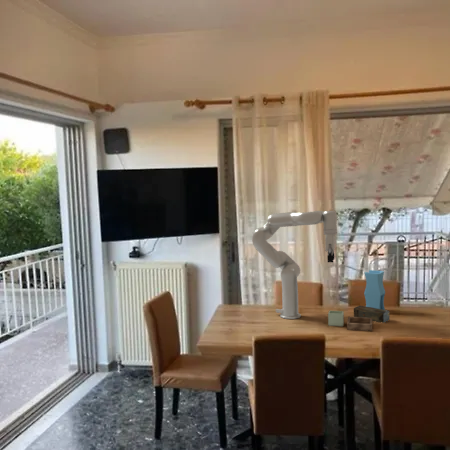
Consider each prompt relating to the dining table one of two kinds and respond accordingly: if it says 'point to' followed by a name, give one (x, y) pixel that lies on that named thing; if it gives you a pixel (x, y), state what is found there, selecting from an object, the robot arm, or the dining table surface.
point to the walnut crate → (359, 324)
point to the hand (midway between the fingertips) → (331, 261)
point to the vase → (374, 289)
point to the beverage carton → (372, 313)
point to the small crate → (335, 318)
